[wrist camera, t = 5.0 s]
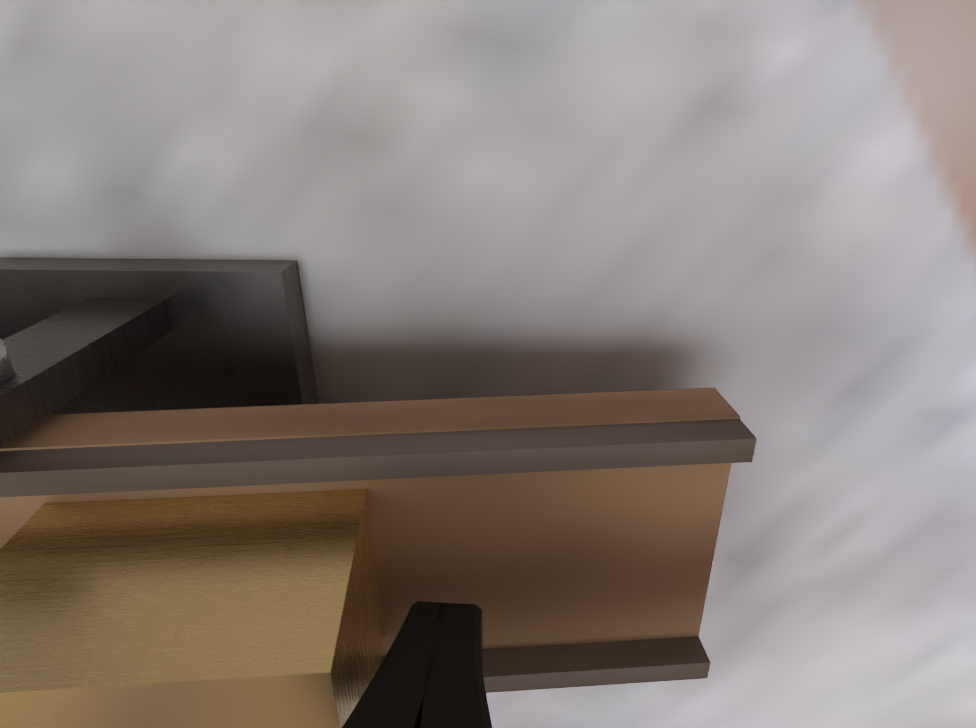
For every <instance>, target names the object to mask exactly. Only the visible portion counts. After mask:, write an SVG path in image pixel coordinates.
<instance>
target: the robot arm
mask: <svg viewBox="0 0 976 728" xmlns="http://www.w3.org/2000/svg"><path fill="white" fill-rule="evenodd" d="M342 728H492V726H491V720H490V715H489V709H488V704H487V698H486V692H485V685H484V678H483V639H482V609H480V608H479V607H478V606H477V605H476V604H459V603H441V602H423V601H417V602H416V603H414V604H413V605H412V606H411V608H410V610H409V612H408V614H407V616H406V619H405V621H404V623H403V625H402V627H401V629H400V631H399V633H398V635H397V636H396V638H395V640H394V642H393V644H392V646H391V648H390V649H389V651H388V653H387V655H386V656H385V658H384V660H383V662H382V664H381V665H380V667H379V669H378V671H377V672H376V674H375V676H374V677H373V679H372V680H371V682H370V684H369V685H368V687H367V688H366V690H365V692H364V693H363V695H362V697H361V698H360V700H359V701H358V703H357V705H356V706H355V708H354V710H353V711H352V713H351V714H350V716H349V717H348V719H347V720H346V722H345V723H344V725H343V726H342Z"/></svg>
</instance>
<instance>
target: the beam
mask: <svg viewBox="0 0 976 728" xmlns="http://www.w3.org/2000/svg"><path fill="white" fill-rule="evenodd" d="M755 444H756V437H755V436H754V435H753V434H752V433H751V432H750V430H749V429H748V428H747V427H746V426H745V425H744V424H743V422H742V421H741V420H740V416H739V415H738V414H737V413H736V412H735V410H734V409H733V408H732V407H731V406H730V405H729V404H728V403H727V401H726V400H725V399H724V398H723V397H722V396H721V395H720V393H719V392H718V391H717V390H716V389H715V388H695V389H670V390H646V391H621V392H597V393H572V394H548V395H523V396H499V397H475V398H450V399H426V400H401V401H377V402H352V403H328V404H303V405H279V406H255V407H230V408H206V409H181V410H157V411H132V412H108V413H83V414H59V415H47V416H46V417H44V418H43V419H41V420H40V421H38V422H37V423H35V424H34V425H32V426H31V427H29V428H28V429H27V430H25V431H24V432H22V433H21V434H19V435H18V436H16V437H15V438H13V439H12V440H10V441H9V442H7V443H6V444H4V445H3V446H1V447H0V549H1V548H2V547H3V546H4V545H5V544H6V543H7V542H8V540H9V539H10V538H11V537H12V536H13V535H14V534H15V533H16V532H17V531H18V530H19V529H20V528H21V527H22V526H23V525H24V524H25V523H26V522H27V521H28V520H29V518H30V517H31V516H32V515H33V514H34V513H35V512H36V511H37V510H38V509H39V508H40V507H41V506H42V505H43V504H44V503H64V502H86V501H108V500H130V499H152V498H174V497H196V496H218V495H240V494H262V493H284V492H306V491H328V490H350V489H367V497H368V506H369V514H370V523H371V531H372V540H373V549H374V557H375V566H376V574H377V583H378V592H379V600H380V609H381V618H382V626H383V635H384V639H383V648H382V656H381V664H382V662H383V660H384V658H385V656H386V655H387V653H388V651H389V649H390V648H391V646H392V644H393V642H394V640H395V638H396V636H397V635H398V633H399V631H400V629H401V627H402V625H403V623H404V621H405V619H406V616H407V614H408V612H409V610H410V608H411V606H412V605H413V604H414V603H416V602H417V601H423V602H441V603H459V604H476V605H477V606H478V607H479V608H480V609H482V639H483V678H484V685H485V692H486V693H488V692H503V691H518V690H533V689H549V688H564V687H579V686H594V685H609V684H624V683H640V682H655V681H670V680H685V679H700V678H707V676H708V671H709V666H710V661H709V659H708V657H707V654H706V652H705V650H704V648H703V646H702V643H701V641H700V639H699V637H698V635H699V630H700V624H701V619H702V614H703V609H704V603H705V598H706V593H707V587H708V582H709V577H710V572H711V566H712V561H713V556H714V551H715V545H716V540H717V535H718V529H719V524H720V519H721V514H722V508H723V503H724V498H725V493H726V487H727V482H728V477H729V471H730V466H731V463H738V462H752V458H753V453H754V448H755Z"/></svg>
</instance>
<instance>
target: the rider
mask: <svg viewBox="0 0 976 728" xmlns="http://www.w3.org/2000/svg"><path fill="white" fill-rule="evenodd" d="M383 639H384V635H383V626H382V618H381V609H380V600H379V592H378V583H377V574H376V566H375V557H374V549H373V540H372V531H371V523H370V514H369V506H368V497H367V489H350V490H328V491H306V492H284V493H262V494H240V495H218V496H196V497H174V498H152V499H130V500H108V501H86V502H64V503H44V504H43V505H42V506H41V507H40V508H39V509H38V510H37V511H36V512H35V513H34V514H33V515H32V516H31V517H30V518H29V520H28V521H27V522H26V523H25V524H24V525H23V526H22V527H21V528H20V529H19V530H18V531H17V532H16V533H15V534H14V535H13V536H12V537H11V538H10V539H9V540H8V542H7V543H6V544H5V545H4V546H3V547H2V548H1V549H0V728H342V726H343V725H344V723H345V722H346V720H347V719H348V717H349V716H350V714H351V713H352V711H353V710H354V708H355V706H356V705H357V703H358V701H359V700H360V698H361V697H362V695H363V693H364V692H365V690H366V688H367V687H368V685H369V684H370V682H371V680H372V679H373V677H374V676H375V674H376V672H377V671H378V669H379V667H380V665H381V656H382V648H383Z"/></svg>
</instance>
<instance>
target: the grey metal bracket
mask: <svg viewBox="0 0 976 728" xmlns="http://www.w3.org/2000/svg"><path fill="white" fill-rule="evenodd" d="M303 404H318V400H317V393H316V387H315V380H314V373H313V367H312V360H311V354H310V347H309V340H308V334H307V327H306V321H305V314H304V307H303V301H302V294H301V287H300V281H299V274H298V268H297V261H253V260H143V259H33V258H0V447H1V446H3V445H4V444H6V443H7V442H9V441H10V440H12V439H13V438H15V437H16V436H18V435H19V434H21V433H22V432H24V431H25V430H27V429H28V428H29V427H31V426H32V425H34V424H35V423H37V422H38V421H40V420H41V419H43V418H44V417H46V416H47V415H59V414H83V413H108V412H132V411H157V410H181V409H206V408H230V407H255V406H279V405H303Z"/></svg>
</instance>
